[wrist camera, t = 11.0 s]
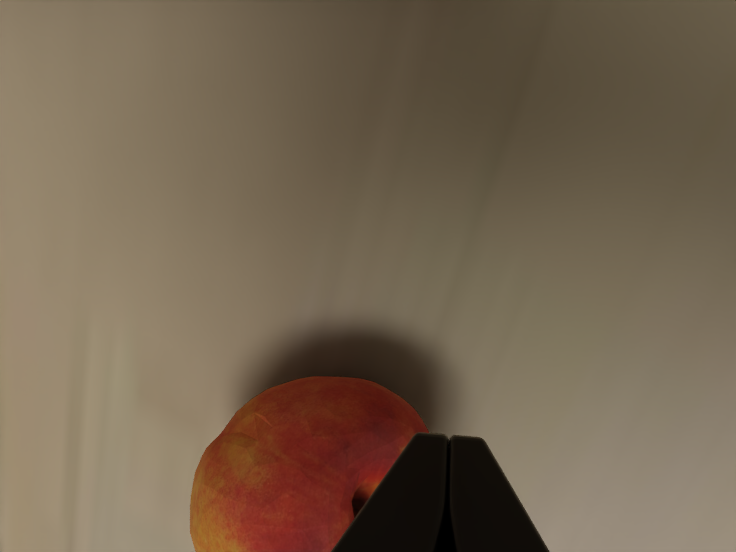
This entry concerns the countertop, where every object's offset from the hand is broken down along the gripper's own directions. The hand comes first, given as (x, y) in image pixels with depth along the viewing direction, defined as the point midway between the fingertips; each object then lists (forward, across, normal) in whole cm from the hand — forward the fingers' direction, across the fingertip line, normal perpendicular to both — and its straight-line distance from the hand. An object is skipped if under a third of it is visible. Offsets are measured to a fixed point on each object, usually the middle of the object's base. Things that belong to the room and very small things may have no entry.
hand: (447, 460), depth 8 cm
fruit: (+12, +4, +10) cm, 16 cm away
